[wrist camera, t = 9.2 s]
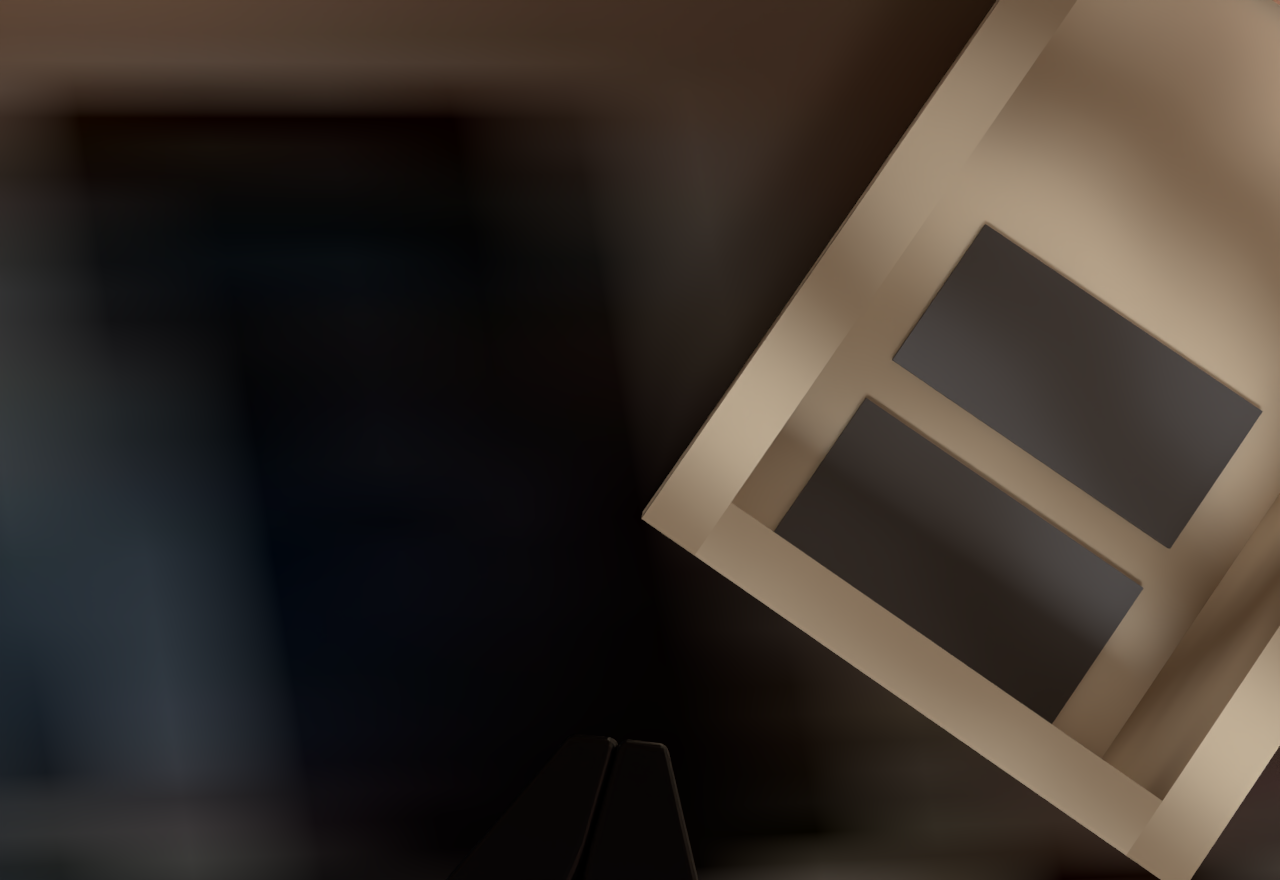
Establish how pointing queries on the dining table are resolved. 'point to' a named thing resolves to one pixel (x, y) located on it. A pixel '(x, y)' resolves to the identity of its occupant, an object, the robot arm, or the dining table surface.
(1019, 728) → the beige tray
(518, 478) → the dining table surface
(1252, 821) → the dining table surface
